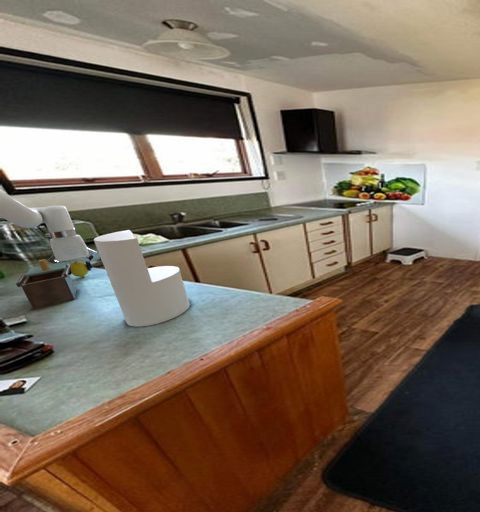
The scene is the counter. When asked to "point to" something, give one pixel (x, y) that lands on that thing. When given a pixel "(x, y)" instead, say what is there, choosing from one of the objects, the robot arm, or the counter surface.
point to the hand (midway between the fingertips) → (80, 271)
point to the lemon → (78, 269)
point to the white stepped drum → (141, 281)
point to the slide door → (46, 268)
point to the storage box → (48, 288)
